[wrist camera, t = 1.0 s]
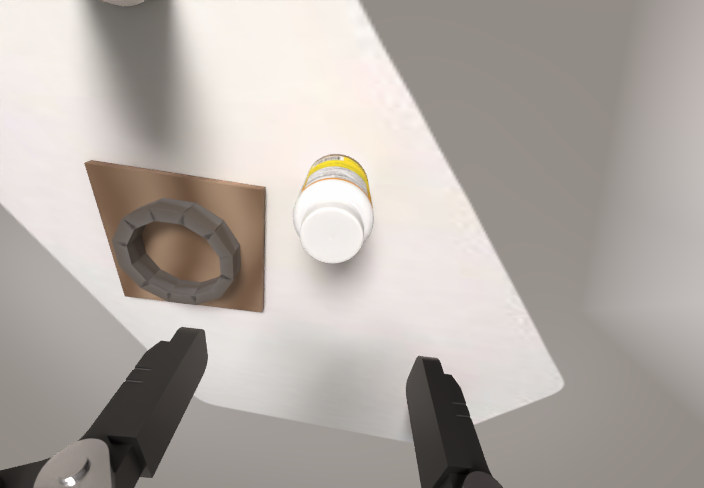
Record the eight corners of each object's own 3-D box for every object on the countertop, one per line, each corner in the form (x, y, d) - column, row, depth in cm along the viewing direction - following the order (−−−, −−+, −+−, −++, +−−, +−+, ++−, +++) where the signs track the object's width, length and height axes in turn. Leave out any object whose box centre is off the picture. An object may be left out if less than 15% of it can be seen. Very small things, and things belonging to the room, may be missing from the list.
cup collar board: (129, 291, 33) (110, 310, 30) (91, 160, 25) (62, 170, 23) (263, 307, 34) (256, 326, 32) (265, 187, 27) (256, 199, 24)
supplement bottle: (344, 220, 29) (341, 287, 20) (295, 188, 27) (268, 245, 18) (380, 176, 26) (395, 230, 18) (330, 138, 25) (318, 175, 16)
